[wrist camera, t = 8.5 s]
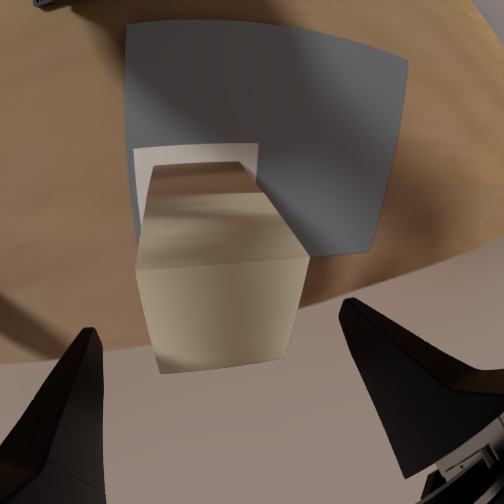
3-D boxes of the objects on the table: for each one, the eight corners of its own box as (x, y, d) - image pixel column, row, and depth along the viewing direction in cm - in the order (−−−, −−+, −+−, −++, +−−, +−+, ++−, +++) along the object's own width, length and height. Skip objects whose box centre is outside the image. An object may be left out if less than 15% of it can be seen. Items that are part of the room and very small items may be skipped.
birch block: (158, 290, 14) (160, 374, 10) (146, 197, 11) (135, 270, 7) (254, 282, 15) (284, 358, 11) (263, 192, 13) (310, 257, 9)
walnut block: (153, 165, 15) (145, 199, 11) (239, 161, 17) (262, 192, 13) (159, 240, 18) (158, 291, 14) (235, 234, 19) (254, 282, 15)
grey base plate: (128, 26, 11) (126, 23, 10) (401, 59, 15) (408, 60, 15) (143, 266, 20) (143, 273, 19) (364, 246, 24) (369, 251, 23)
